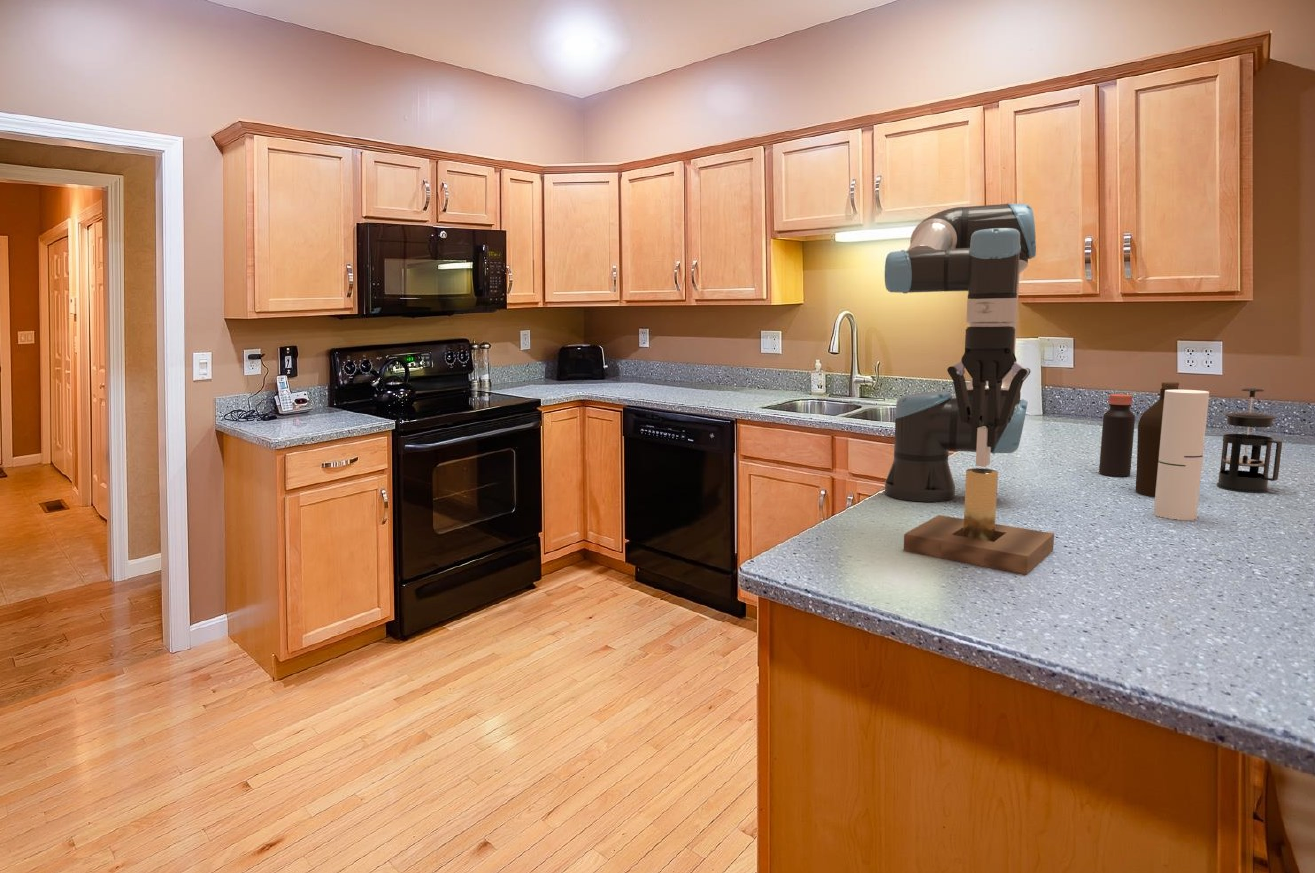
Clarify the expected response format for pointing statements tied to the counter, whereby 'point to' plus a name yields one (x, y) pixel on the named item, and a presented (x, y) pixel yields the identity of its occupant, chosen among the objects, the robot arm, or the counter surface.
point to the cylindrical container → (1181, 454)
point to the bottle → (1117, 437)
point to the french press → (1246, 479)
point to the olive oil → (1150, 444)
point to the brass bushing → (980, 504)
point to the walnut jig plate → (980, 545)
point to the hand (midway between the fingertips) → (982, 465)
